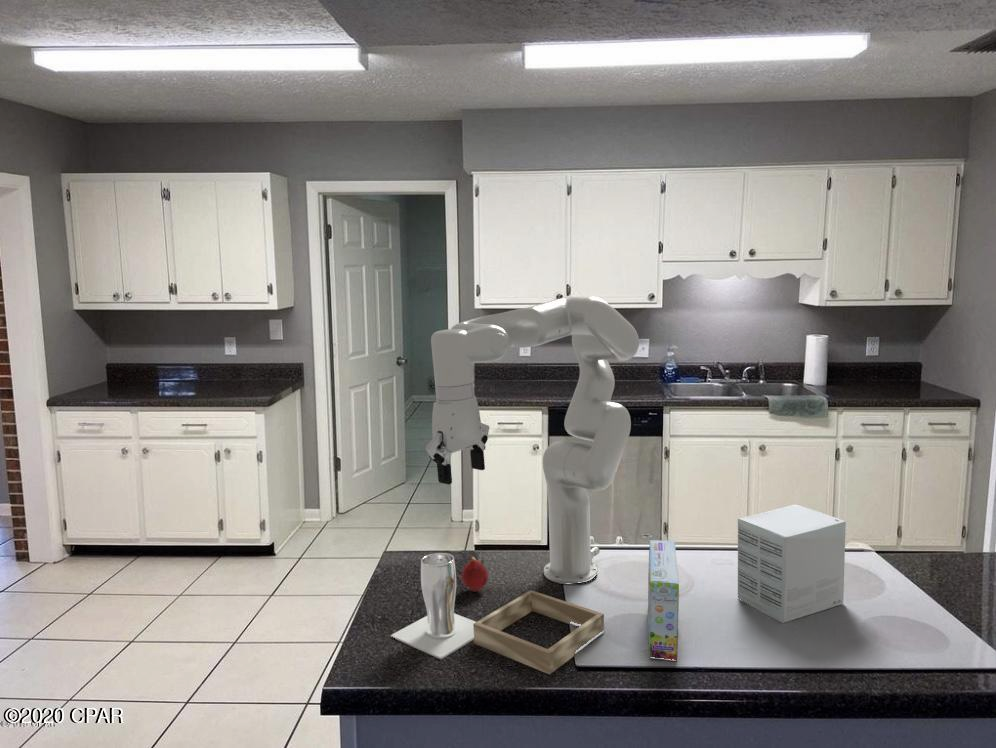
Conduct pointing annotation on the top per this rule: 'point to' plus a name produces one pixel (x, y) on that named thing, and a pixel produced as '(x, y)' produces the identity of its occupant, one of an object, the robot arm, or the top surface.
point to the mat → (434, 646)
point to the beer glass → (439, 594)
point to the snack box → (663, 600)
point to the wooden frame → (529, 653)
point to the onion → (474, 575)
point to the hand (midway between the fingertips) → (462, 475)
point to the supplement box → (791, 562)
